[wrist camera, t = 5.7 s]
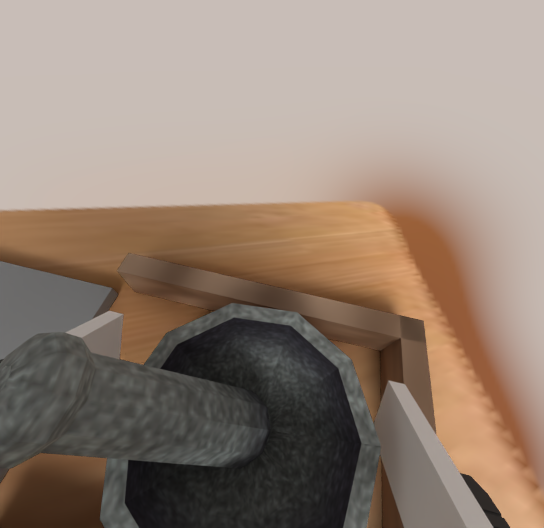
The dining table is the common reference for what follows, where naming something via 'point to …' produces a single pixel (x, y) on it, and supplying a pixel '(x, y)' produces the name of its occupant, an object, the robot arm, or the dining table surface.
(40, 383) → the mortar and pestle
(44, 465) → the dining table surface
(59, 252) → the dining table surface
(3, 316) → the slate mat
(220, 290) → the rectangular wooden frame
